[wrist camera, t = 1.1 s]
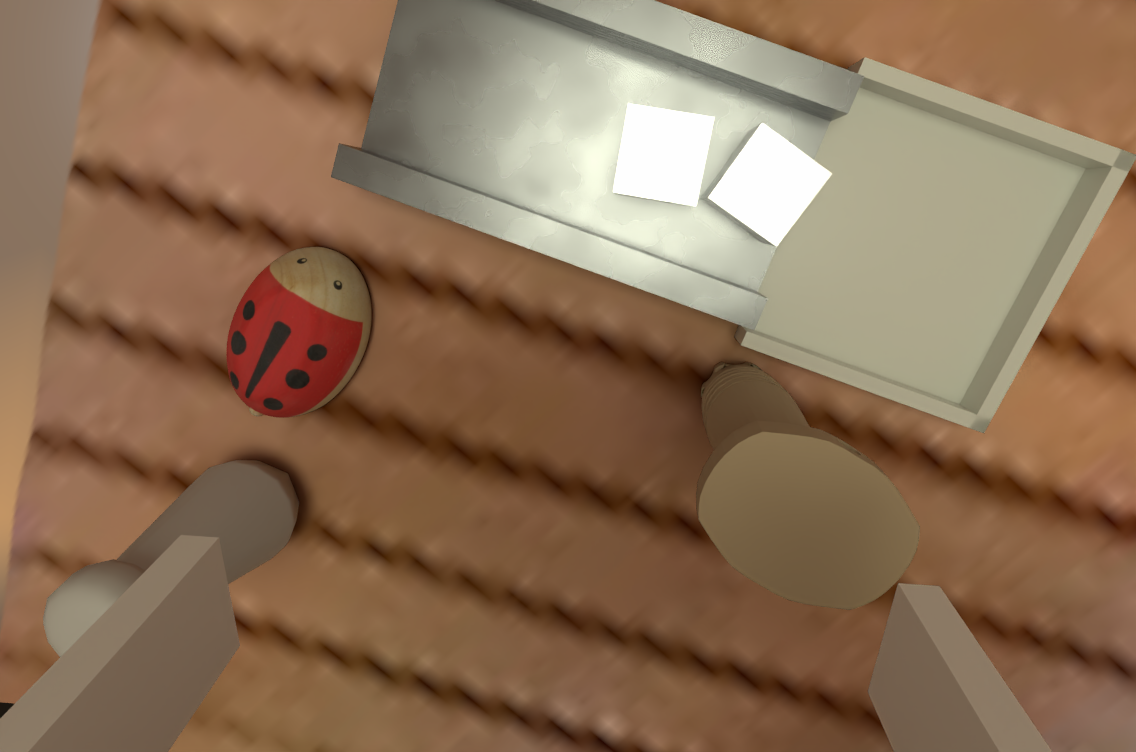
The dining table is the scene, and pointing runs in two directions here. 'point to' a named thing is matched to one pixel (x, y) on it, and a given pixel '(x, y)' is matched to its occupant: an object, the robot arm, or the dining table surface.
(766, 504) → the handle
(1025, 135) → the tray
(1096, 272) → the dining table surface
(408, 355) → the dining table surface
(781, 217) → the pale grey cube
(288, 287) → the ladybug figurine
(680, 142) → the pale beige cube
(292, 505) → the salt shaker
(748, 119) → the rail
